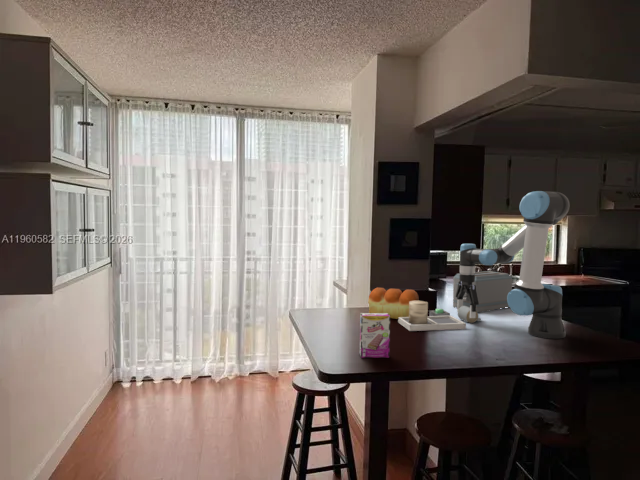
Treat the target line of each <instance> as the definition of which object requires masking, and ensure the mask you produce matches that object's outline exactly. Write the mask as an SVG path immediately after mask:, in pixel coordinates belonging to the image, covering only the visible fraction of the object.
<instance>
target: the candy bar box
mask: <svg viewBox="0 0 640 480" xmlns="http://www.w3.org/2000/svg"><path fill="white" fill-rule="evenodd" d="M359 314H360V315H359V356H360V358H361V359H369V358H370V359H372V358H374V359H376V358H377V359H381V358H382V359H383V358H385V359H386V358H387V359H389V358H390V350H391V349H390V346H391V345H390V344H391V343H390V342H391V318H390V315H389V314H388V313H369V312H360V313H359Z"/></svg>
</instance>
